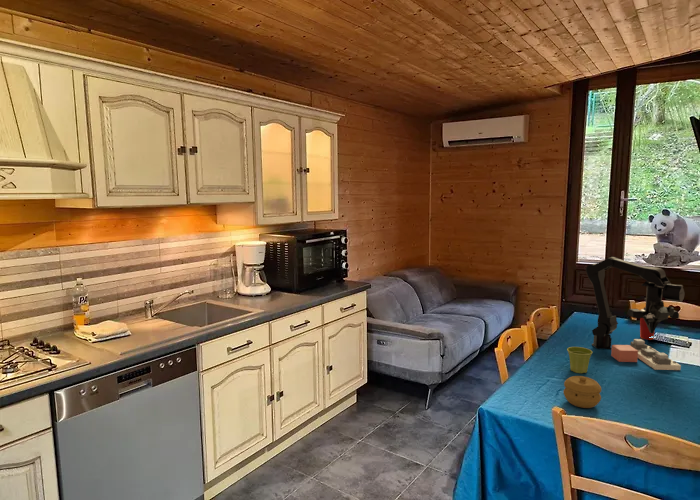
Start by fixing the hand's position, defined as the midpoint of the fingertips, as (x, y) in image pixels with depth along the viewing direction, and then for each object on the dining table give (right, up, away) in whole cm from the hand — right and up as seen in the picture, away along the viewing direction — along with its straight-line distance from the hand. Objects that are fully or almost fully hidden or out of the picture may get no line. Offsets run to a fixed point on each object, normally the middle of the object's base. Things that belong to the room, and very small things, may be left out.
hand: (651, 332), depth 207 cm
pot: (-50, -18, -40) cm, 67 cm away
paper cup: (+17, -8, +30) cm, 35 cm away
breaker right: (-1, -9, -8) cm, 12 cm away
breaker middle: (0, -10, +1) cm, 10 cm away
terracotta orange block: (-10, -12, +2) cm, 16 cm away
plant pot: (-36, -14, -11) cm, 40 cm away
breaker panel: (+1, -12, +2) cm, 12 cm away
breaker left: (+1, -7, +10) cm, 12 cm away
